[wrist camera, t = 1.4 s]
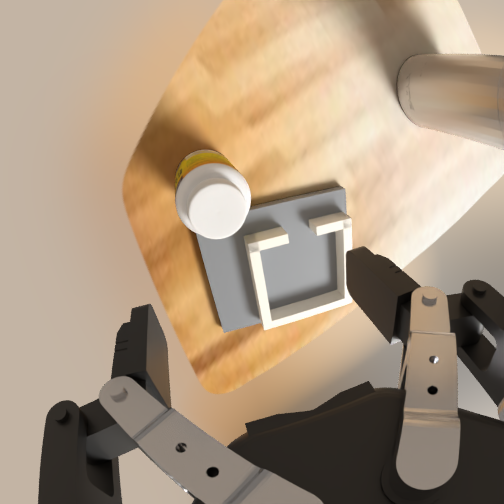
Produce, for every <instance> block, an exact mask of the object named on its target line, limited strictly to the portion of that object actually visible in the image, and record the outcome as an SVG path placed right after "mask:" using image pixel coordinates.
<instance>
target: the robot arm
mask: <svg viewBox="0 0 504 504" xmlns="http://www.w3.org/2000/svg"><path fill="white" fill-rule="evenodd" d="M397 91H398V97H399V101H400V104H401V107H402V109H403V111H404V112H405V114H406V115H407V117H408V118H409V119H410V120H411V121H412V122H413V123H414V124H416V125H418V126H420V127H423V128H428V129H432V130H436V131H440V132H444V133H447V134H451V135H455V136H459V137H462V138H466V139H470V140H473V141H476V142H480V143H483V144H486V145H490V146H493V147H496V148H499V149H502V150H504V56H500V55H483V54H421V55H414V56H412V57H410V58H409V59H407V60H406V61H405V62H404V64H403V66H402V67H401V69H400V72H399V75H398V82H397ZM346 286H347V290H348V292H349V294H350V296H351V297H352V298H353V300H354V301H355V302H356V303H357V304H358V306H359V307H360V308H361V309H362V310H363V311H364V313H365V314H366V315H367V316H368V317H369V319H370V320H371V321H372V322H373V324H374V325H375V326H376V327H377V328H378V330H379V331H380V332H381V333H382V334H383V336H384V337H385V338H386V339H387V341H388V342H389V343H390V344H391V345H392V344H394V343H396V342H399V341H402V342H403V348H402V357H401V366H400V373H399V381H398V387H397V388H375V389H374V388H373V387H372V385H371V384H370V382H369V381H367V382H365V383H363V384H360V385H358V386H356V387H353V388H350V389H348V390H345V391H343V392H340V393H339V394H337V395H336V396H335V397H333V398H331V399H330V400H328V401H327V402H325V403H324V404H322V405H320V406H319V407H317V408H316V409H314V410H311V411H305V412H295V413H285V414H276V415H273V416H270V417H266V418H263V419H259V420H256V421H252V422H249V423H245V425H246V428H247V433H245V434H243V435H241V436H240V437H238V438H237V439H235V440H234V441H233V442H231V443H230V444H229V445H228V446H227V447H226V446H224V445H223V444H221V443H220V442H218V441H217V440H215V439H214V438H213V437H211V436H210V435H208V434H207V433H206V432H204V431H203V430H201V429H200V428H199V427H197V426H196V425H195V424H193V423H192V422H191V421H189V420H188V419H187V418H185V417H184V416H183V415H181V414H180V413H179V412H177V411H176V410H175V409H173V408H171V399H170V398H171V397H170V383H169V368H168V348H167V342H166V338H165V336H164V333H163V330H162V328H161V326H160V323H159V321H158V319H157V316H156V314H155V312H154V310H153V307H152V305H151V304H147V305H143V306H139V307H135V308H132V311H131V319H130V322H127V323H123V325H122V326H121V328H120V329H119V331H118V333H117V337H116V345H115V353H114V359H113V367H112V375H111V380H110V381H108V382H107V383H106V384H105V385H104V386H103V387H102V389H101V390H100V393H99V399H97V400H95V401H93V402H91V403H88V404H86V405H84V406H82V407H80V408H79V407H78V406H77V405H76V403H74V402H73V401H69V400H66V401H61V402H59V403H57V404H55V405H54V406H53V407H52V408H51V409H50V410H49V412H48V414H47V417H46V423H45V430H44V437H43V446H42V454H41V466H40V479H39V496H38V504H122V498H121V488H120V476H119V462H118V456H120V455H122V454H125V453H127V452H129V451H131V450H133V449H135V448H139V449H141V451H142V452H144V454H145V455H146V456H147V457H148V458H150V460H152V461H153V462H154V463H155V464H156V465H157V466H158V467H159V468H160V469H161V470H162V471H163V472H164V473H165V474H166V475H168V476H169V477H170V478H171V479H172V480H173V481H174V482H175V483H176V484H177V485H179V486H180V487H181V488H182V489H183V490H185V492H187V493H188V494H189V495H190V496H191V497H193V498H194V501H193V503H192V504H504V297H503V296H502V295H501V294H500V293H499V292H497V291H496V290H495V289H494V288H493V287H492V286H491V285H489V284H488V283H486V282H484V281H480V280H470V281H467V282H466V283H465V284H464V286H463V289H462V293H459V294H453V295H445V293H444V292H443V291H441V290H440V289H438V288H435V287H428V286H425V287H421V286H420V285H418V284H417V283H416V282H415V281H414V280H413V279H412V278H410V277H409V276H408V275H407V274H406V273H405V272H404V271H402V270H401V269H400V268H399V267H398V266H396V265H395V264H394V263H393V262H392V261H391V260H389V259H388V258H386V257H383V256H381V255H378V254H376V255H374V254H373V253H372V252H371V251H370V250H368V249H367V248H366V247H364V246H362V247H359V248H355V249H352V250H349V251H347V252H346ZM484 327H485V328H486V329H487V330H488V331H489V332H490V334H491V335H492V336H493V337H494V338H495V340H496V344H497V348H495V347H494V346H493V345H492V344H491V343H490V342H489V340H488V339H487V338H486V337H485V336H484V335H483V334H482V332H483V330H484ZM457 355H458V357H459V358H460V359H461V361H462V362H463V363H464V364H465V365H466V367H467V368H468V369H469V370H470V372H471V373H472V374H473V375H474V377H475V378H476V379H477V380H478V382H479V383H480V384H481V386H482V387H483V388H484V389H485V391H486V392H487V393H488V394H489V396H490V397H491V399H492V400H493V401H494V403H495V404H496V405H497V407H498V415H499V419H500V420H498V419H494V418H491V417H487V416H484V415H480V414H477V413H474V412H470V411H467V410H464V409H461V408H458V373H457Z"/></svg>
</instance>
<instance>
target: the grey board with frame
mask: <svg viewBox="0 0 504 504" xmlns="http://www.w3.org/2000/svg"><path fill="white" fill-rule="evenodd" d="M196 235H197V239H198V243H199V247H200V250H201V254H202V258H203V262H204V265H205V269H206V272H207V276H208V280H209V283H210V287H211V290H212V294H213V297H214V301H215V304H216V308H217V311H218V315H219V318H220V321H221V325H222V328H223V332H224V333H225V332H229V331H233V330H236V329H240V328H244V327H247V326H251V325H255V324H258V323H262V326H263V328H264V330H267V329H270V328H274V327H277V326H280V325H284V324H287V323H290V322H294V321H297V320H300V319H303V318H307V317H310V316H313V315H316V314H319V313H322V312H325V311H328V310H331V309H334V308H337V307H340V306H343V305H346V304H349V303H352V297H351V296H350V294H349V292H348V290H347V286H346V252H347V251H349V250H352V222H351V217H349V216H348V215H347V212H346V194H345V188H343V187H341V186H340V187H335V188H330V189H326V190H321V191H316V192H312V193H307V194H303V195H298V196H294V197H289V198H285V199H280V200H276V201H272V202H267V203H263V204H259V205H255V206H250V209H249V212H248V214H247V216H246V219H245V221H244V223H243V225H242V226H241V228H240V229H239V230H238V231H237V232H235V233H234V234H233V235H231V236H229V237H226V238H223V239H210V238H206V237H204V236H202V235H200V234H197V233H196Z"/></svg>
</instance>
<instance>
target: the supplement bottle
mask: <svg viewBox="0 0 504 504" xmlns="http://www.w3.org/2000/svg"><path fill="white" fill-rule="evenodd" d="M175 203H176V209H177V212H178V215H179V217H180V219H181V221H182V222H183V223H184V224H185V226H187V227H188V228H189V229H190V230H192V231H193V232H195V233H197V234H200V235H202V236H204V237H206V238H210V239H223V238H226V237H229V236H231V235H233V234H234V233H235V232H237V231H238V230H239V229H240V228H241V226H242V225H243V223H244V221H245V219H246V216H247V214H248V212H249V209H250V204H251V193H250V189H249V186H248V184H247V182H246V180H245V179H244V177H243V176H242V175H241V174H240V173H239V172H238V170H237V169H236V168H235V167H234V166H233V165H232V164H231V163H230V162H229V161H228V159H227V158H225V157H224V156H223V155H222V154H220V153H218V152H216V151H213V150H198V151H195V152H193V153H191V154H189V155H188V156H186V157H185V158H184V159H183V160H182V161H181V163H180V164H179V166H178V168H177V171H176V175H175Z"/></svg>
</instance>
